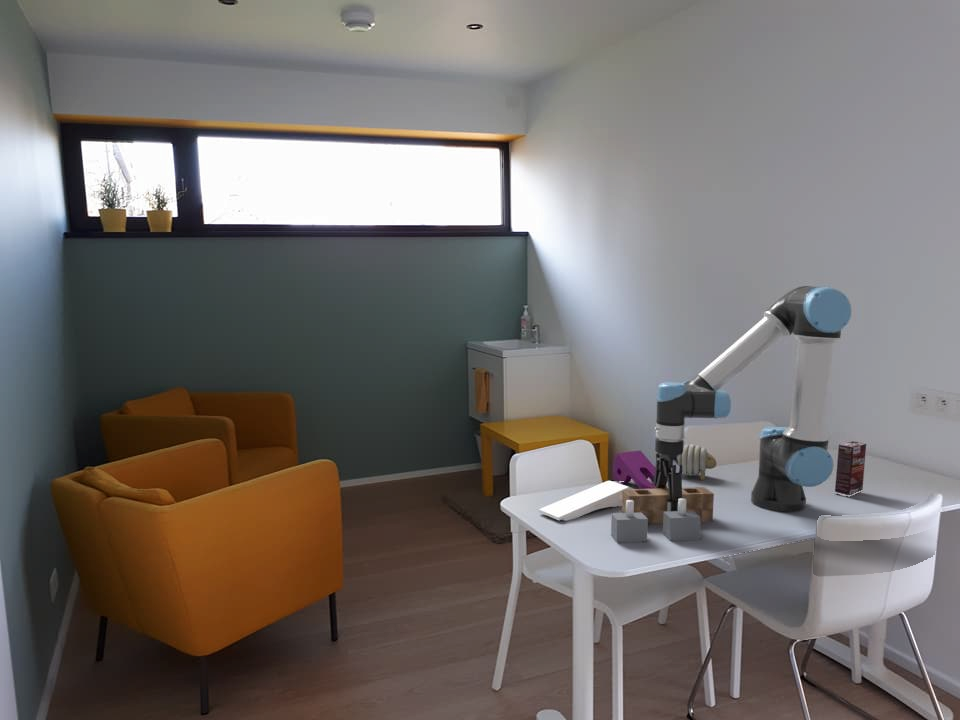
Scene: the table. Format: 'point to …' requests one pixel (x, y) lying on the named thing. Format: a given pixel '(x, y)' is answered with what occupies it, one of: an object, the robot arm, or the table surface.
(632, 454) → the mounting bracket
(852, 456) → the supplement box
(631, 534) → the peg blocks
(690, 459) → the toy sheep
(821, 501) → the table surface
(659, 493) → the walnut rail
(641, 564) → the table surface
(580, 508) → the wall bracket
